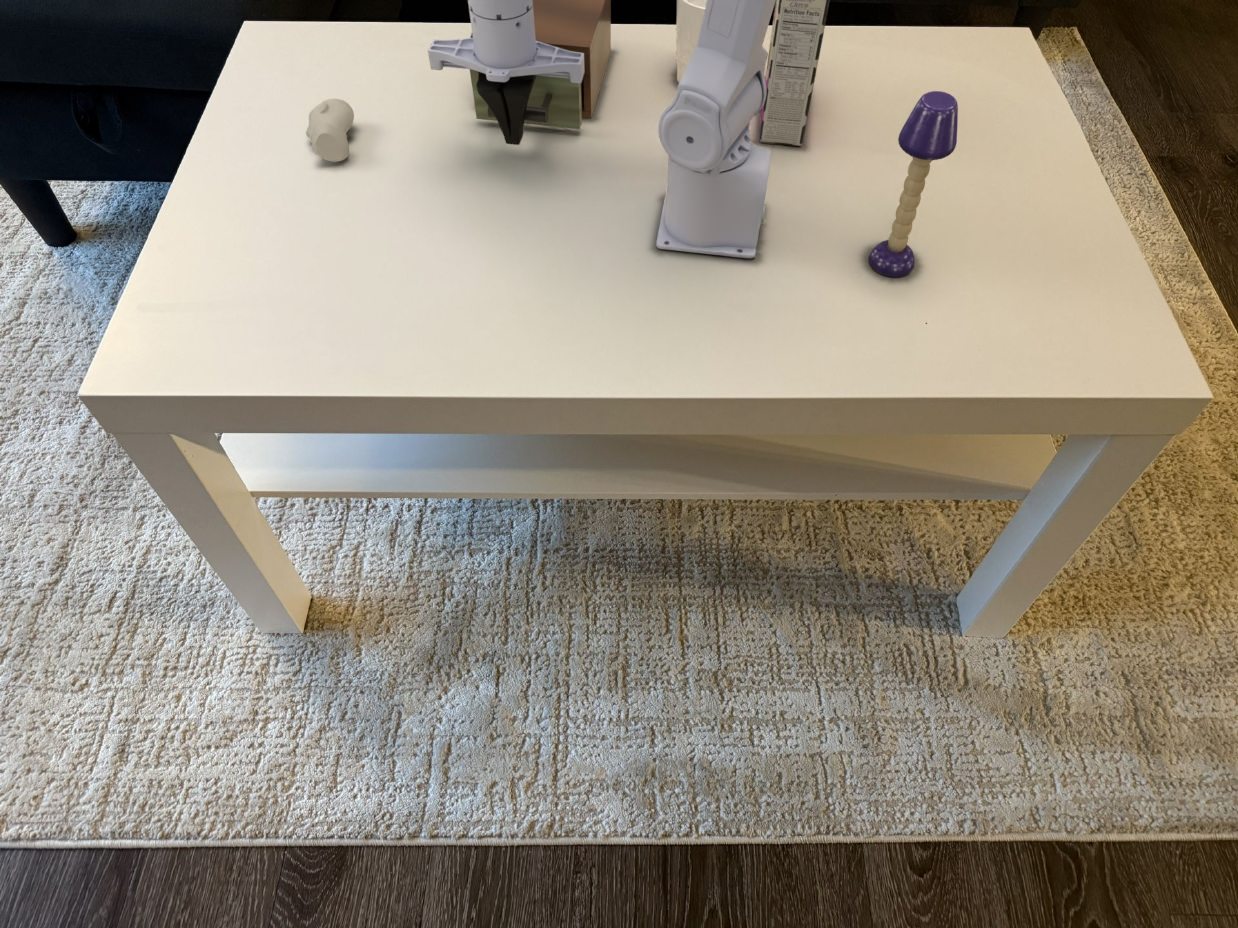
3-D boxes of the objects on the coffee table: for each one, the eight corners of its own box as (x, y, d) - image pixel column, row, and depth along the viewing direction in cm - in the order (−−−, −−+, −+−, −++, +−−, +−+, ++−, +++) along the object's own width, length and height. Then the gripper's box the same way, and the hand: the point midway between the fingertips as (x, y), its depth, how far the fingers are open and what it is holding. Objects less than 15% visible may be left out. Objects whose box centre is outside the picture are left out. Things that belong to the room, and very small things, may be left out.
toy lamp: (868, 279, 81) (920, 118, 67) (857, 245, 83) (904, 84, 70) (918, 277, 81) (980, 115, 67) (905, 243, 84) (962, 82, 70)
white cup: (671, 59, 102) (677, -29, 94) (738, 61, 102) (749, -27, 94) (671, 97, 98) (676, 8, 89) (741, 99, 98) (753, 10, 89)
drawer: (573, 153, 90) (570, 97, 85) (466, 142, 91) (457, 86, 86) (599, 66, 100) (598, 11, 94) (502, 57, 101) (496, 2, 95)
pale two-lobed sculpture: (324, 132, 95) (365, 119, 94) (311, 176, 90) (354, 163, 89) (301, 98, 92) (343, 83, 91) (286, 141, 87) (331, 127, 86)
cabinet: (591, 118, 95) (590, 47, 89) (479, 107, 96) (470, 36, 90) (610, 52, 103) (610, -18, 96) (507, 43, 104) (500, -27, 97)
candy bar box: (762, 86, 99) (785, -68, 86) (806, 90, 99) (836, -64, 85) (755, 144, 93) (779, -13, 79) (802, 149, 92) (834, -8, 79)
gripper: (408, 20, 75) (434, 155, 86) (572, 34, 74) (577, 170, 85) (431, -20, 79) (453, 114, 90) (586, -7, 78) (589, 128, 89)
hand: (514, 139), depth 88 cm, fingers closed, pressing on drawer
